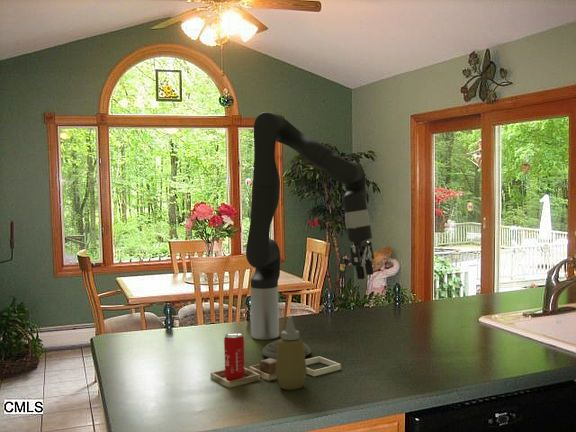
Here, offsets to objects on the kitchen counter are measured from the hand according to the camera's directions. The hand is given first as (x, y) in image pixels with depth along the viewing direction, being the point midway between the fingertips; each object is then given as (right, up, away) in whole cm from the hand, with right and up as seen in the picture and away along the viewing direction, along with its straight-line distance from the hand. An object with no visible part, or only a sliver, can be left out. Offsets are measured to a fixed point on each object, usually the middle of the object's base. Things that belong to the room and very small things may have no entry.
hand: (365, 276), depth 188 cm
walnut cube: (-29, -25, -23) cm, 44 cm away
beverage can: (-39, -25, -26) cm, 53 cm away
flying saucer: (-25, -24, -5) cm, 35 cm away
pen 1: (-39, -25, -26) cm, 53 cm away
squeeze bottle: (-23, -25, -33) cm, 47 cm away
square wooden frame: (-28, -24, -21) cm, 43 cm away
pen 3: (-16, -24, -19) cm, 34 cm away
